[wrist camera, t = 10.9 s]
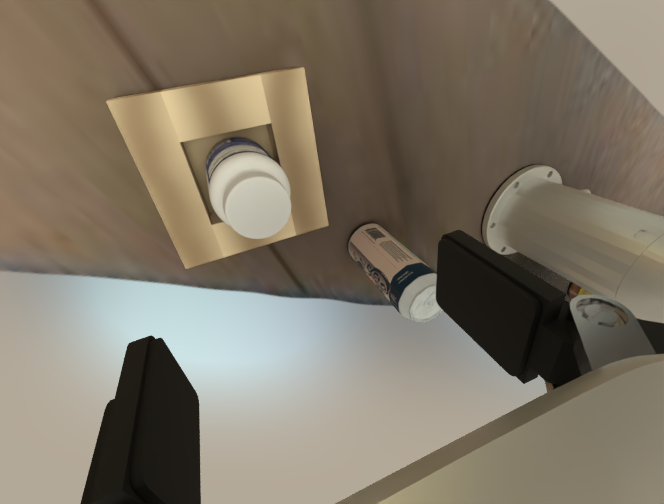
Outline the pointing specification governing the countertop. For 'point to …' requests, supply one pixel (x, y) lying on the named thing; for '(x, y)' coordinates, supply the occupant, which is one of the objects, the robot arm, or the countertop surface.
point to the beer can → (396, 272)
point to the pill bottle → (247, 188)
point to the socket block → (199, 138)
